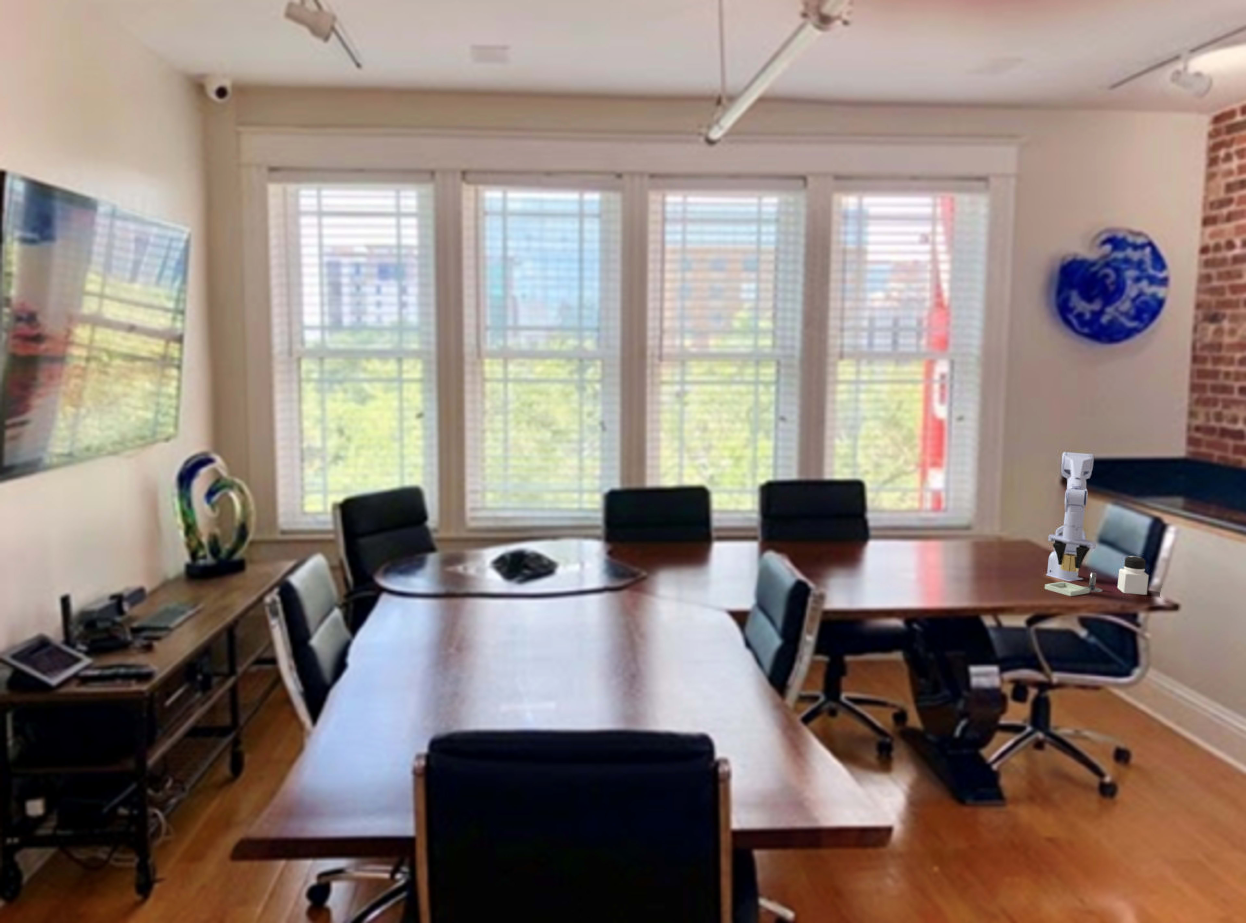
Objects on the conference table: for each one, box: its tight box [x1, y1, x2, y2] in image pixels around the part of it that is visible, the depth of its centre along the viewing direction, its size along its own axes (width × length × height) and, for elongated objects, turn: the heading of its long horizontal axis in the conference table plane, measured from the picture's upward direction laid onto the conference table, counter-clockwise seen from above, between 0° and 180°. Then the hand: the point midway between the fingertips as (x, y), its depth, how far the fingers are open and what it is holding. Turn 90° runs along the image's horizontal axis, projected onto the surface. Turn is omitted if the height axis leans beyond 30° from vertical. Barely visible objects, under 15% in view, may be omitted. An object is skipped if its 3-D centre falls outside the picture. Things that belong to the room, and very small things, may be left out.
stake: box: [1084, 572, 1103, 593], centre depth 321 cm, size 6×6×6 cm
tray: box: [1044, 581, 1091, 597], centre depth 318 cm, size 10×10×2 cm
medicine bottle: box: [1117, 555, 1150, 596], centre depth 319 cm, size 7×7×12 cm
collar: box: [1060, 553, 1079, 572], centre depth 317 cm, size 5×6×5 cm
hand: (1069, 566), depth 317 cm, fingers closed on collar, 5 cm apart
